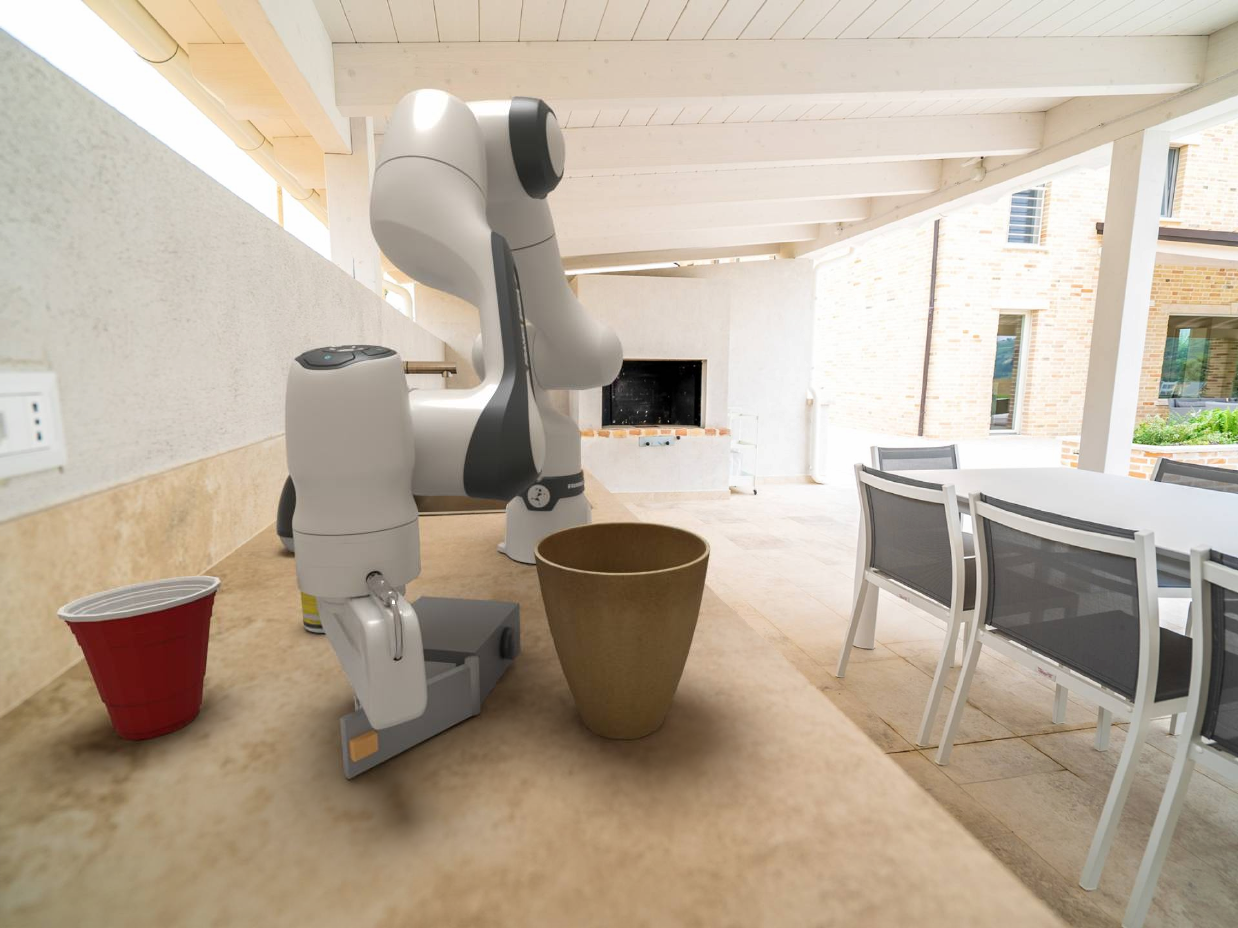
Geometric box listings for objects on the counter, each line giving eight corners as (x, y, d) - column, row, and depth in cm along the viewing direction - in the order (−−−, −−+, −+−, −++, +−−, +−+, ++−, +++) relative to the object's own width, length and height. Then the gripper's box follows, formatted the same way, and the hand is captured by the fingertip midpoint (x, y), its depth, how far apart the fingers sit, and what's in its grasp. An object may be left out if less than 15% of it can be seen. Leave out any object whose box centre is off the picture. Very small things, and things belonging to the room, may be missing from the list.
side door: (342, 772, 44) (338, 711, 43) (475, 706, 52) (473, 654, 52) (353, 783, 42) (348, 720, 42) (486, 713, 51) (484, 660, 51)
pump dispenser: (326, 558, 97) (320, 469, 95) (265, 558, 97) (257, 469, 95) (355, 541, 107) (349, 460, 105) (299, 541, 107) (292, 460, 105)
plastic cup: (211, 676, 58) (199, 561, 57) (251, 714, 52) (239, 585, 50) (64, 725, 50) (45, 592, 48) (89, 778, 43) (68, 626, 42)
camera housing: (424, 642, 66) (421, 591, 65) (529, 650, 64) (528, 598, 63) (360, 699, 54) (356, 638, 53) (487, 711, 52) (484, 648, 51)
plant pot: (550, 673, 59) (548, 520, 57) (697, 675, 59) (700, 521, 56) (522, 770, 44) (516, 569, 42) (717, 774, 44) (722, 571, 42)
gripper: (446, 587, 38) (454, 776, 40) (372, 524, 55) (380, 661, 57) (342, 609, 35) (357, 816, 37) (296, 535, 51) (308, 680, 53)
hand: (371, 721), depth 47 cm, fingers closed
